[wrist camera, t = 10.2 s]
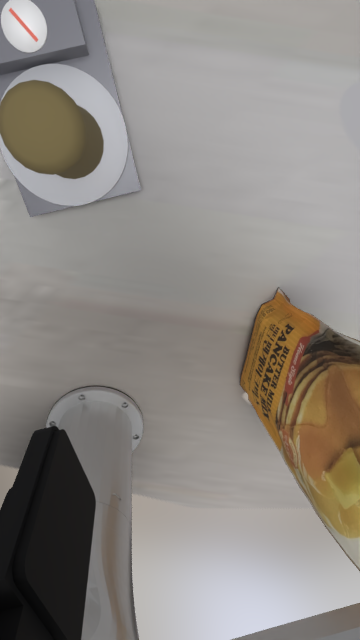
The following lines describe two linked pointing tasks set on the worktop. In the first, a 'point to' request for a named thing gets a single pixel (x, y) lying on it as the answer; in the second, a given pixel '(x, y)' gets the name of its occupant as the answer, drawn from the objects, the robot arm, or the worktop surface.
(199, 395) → the worktop surface
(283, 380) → the pancake mix bag
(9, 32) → the kitchen scale
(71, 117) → the cork
